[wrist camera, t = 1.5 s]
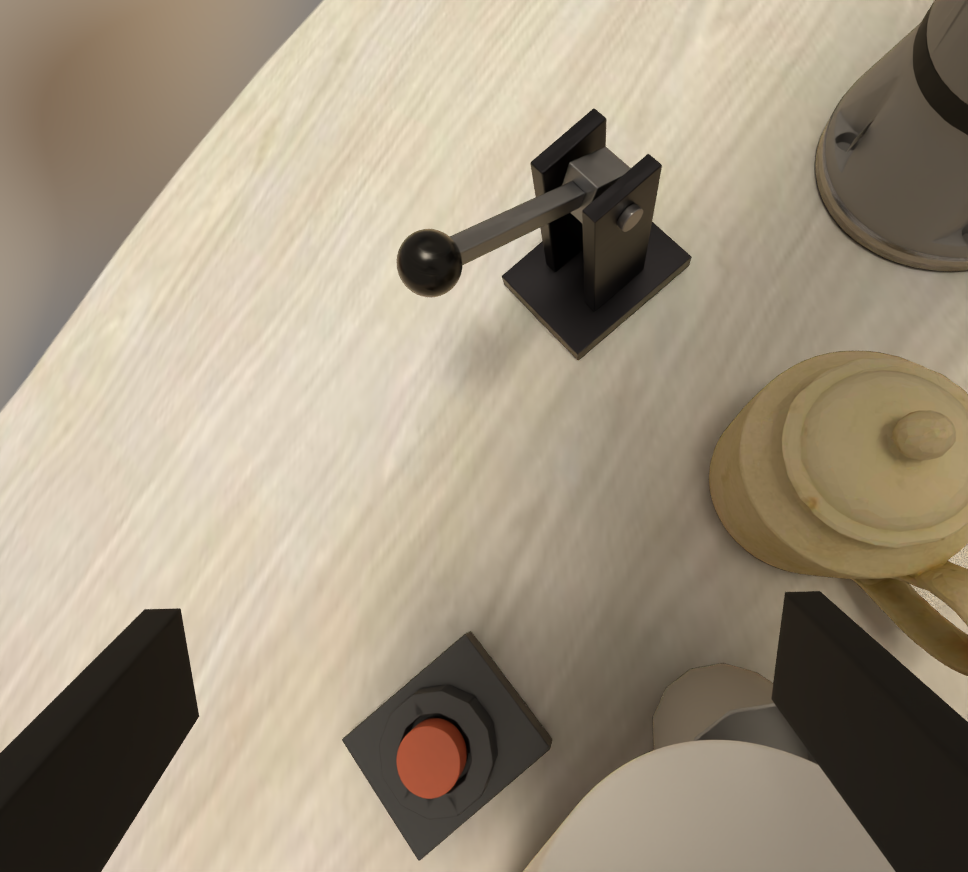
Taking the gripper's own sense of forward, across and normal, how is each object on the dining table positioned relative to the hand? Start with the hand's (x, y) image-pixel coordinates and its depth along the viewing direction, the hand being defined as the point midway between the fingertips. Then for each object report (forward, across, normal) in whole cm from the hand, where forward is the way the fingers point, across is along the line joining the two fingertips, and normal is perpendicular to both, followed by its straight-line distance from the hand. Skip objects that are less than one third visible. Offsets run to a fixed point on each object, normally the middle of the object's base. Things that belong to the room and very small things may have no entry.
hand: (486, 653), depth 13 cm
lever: (+20, +2, +10) cm, 23 cm away
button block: (+19, -2, -19) cm, 27 cm away
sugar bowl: (+21, +21, -5) cm, 30 cm away
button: (+16, -3, -18) cm, 24 cm away
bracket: (+31, +8, +8) cm, 33 cm away
